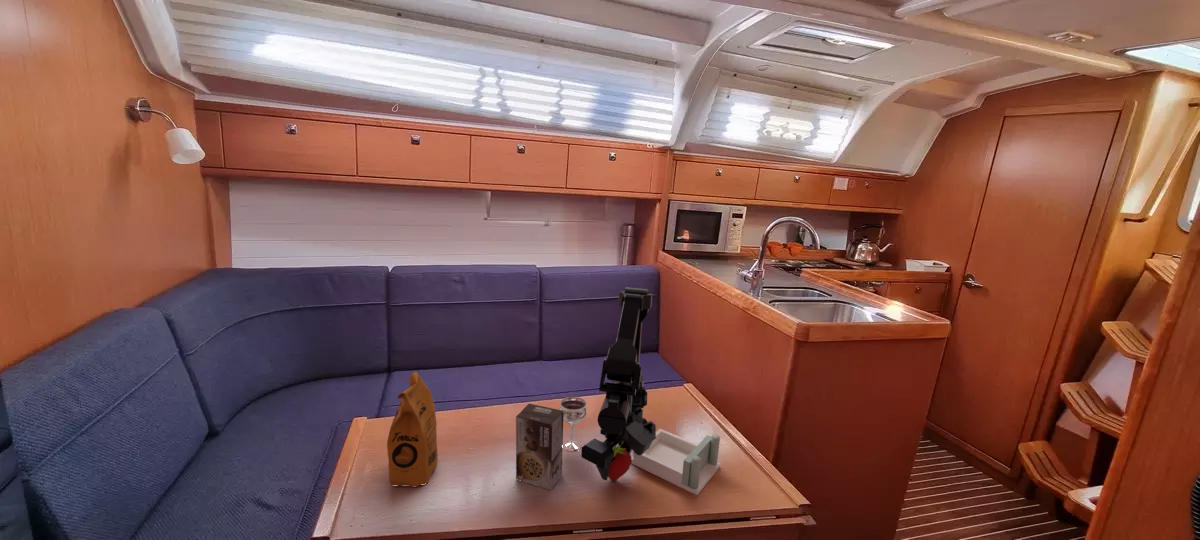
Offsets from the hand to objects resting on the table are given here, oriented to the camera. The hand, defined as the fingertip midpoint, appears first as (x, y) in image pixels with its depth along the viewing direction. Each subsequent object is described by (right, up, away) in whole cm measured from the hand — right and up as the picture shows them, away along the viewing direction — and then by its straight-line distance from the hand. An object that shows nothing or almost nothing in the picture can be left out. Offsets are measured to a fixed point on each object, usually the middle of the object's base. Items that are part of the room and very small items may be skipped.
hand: (614, 471), depth 103 cm
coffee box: (-17, -2, +1) cm, 17 cm away
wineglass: (-11, +1, +13) cm, 17 cm away
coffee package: (-46, 0, 0) cm, 46 cm away
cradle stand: (+15, -2, +7) cm, 17 cm away
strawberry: (0, -3, +1) cm, 3 cm away
